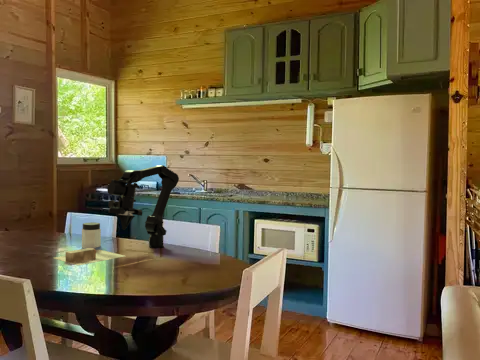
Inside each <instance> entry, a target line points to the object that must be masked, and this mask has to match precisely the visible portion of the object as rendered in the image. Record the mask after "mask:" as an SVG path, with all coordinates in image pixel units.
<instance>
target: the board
mask: <svg viewBox="0 0 480 360" xmlns="http://www.w3.org/2000/svg"><path fill="white" fill-rule="evenodd" d="M124 257H125V255H124V254H119V253H115V252H112V251H111V252H110V251H107V250H103V249H97V250H96V258H93V259H88V260H82V261H77V262H72V263H70V262H67V261H66V255H61V256H56V257H53V259H54V260H58V261H62V262H65V263H69V264H72V265H75V266H83V265H89V264H92V263H98V262H103V261H108V260H114V259H118V258H124Z"/></svg>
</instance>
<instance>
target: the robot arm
mask: <svg viewBox="0 0 480 360" xmlns="http://www.w3.org/2000/svg"><path fill="white" fill-rule="evenodd" d="M156 175H158V177H159V178H160V180H161V190H160V193H159V196H158V199H157V200H156V203H155V204H156V205H155V207H154V210H153V211H152V212H153V213H152V214H151V215H147V216H146V220H145V222H144V224H145V225H144V228H145V231H146V233H147V235H149V237H148V246H149V247H150V248H151V249H155V248H156V249H157V248H165V246H164V236H166V234H167V230H166V229H165V227H163V225H164V218H163V217H164V213H165V210H166V207H167V205H168V202H169V198H170V196H171V193H172V190H173V191H174V188H176V187H177V185H178V183H179V180H180V176H179V175H178V173H176V172H174V171H172V170H171V169H169V168H167V167H166V166H165V165H162V164H159V165H158V164H157V165H154V166H151V167H147V168H142V169H138V170H137V169H136V170H135V169H134V170H133V169H132V170H131V169H130V170H128V169H127V170H125V171H124V172H123V173H122V176H120V178H119V179H117V180H116V179H111V181H110V183H109V184H108V186H107V193H108V194H109V195H112V196H113V195H114V196H121V197H119V198H118V201H115V200H113V199H111V200H108V208H109V209H108V213H109V214H115V215H116V216H117V217H118V218H119V219H120V224H121V229H122V230H123V231H125V230H127V228H128V226H129V225H130V223H131V222H132V220H133V219H134V218H135V217H136V216H143V210H142V209H137V208H134V203H136V202H137V199H135V197H136V190H137V189H140V186H139V185H138V183H139V182H140V181H142V180H143V179H145V178H149V177H152V176H156Z"/></svg>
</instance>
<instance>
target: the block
mask: <svg viewBox="0 0 480 360" xmlns="http://www.w3.org/2000/svg"><path fill="white" fill-rule="evenodd" d="M96 249H97V248H81V249H75V250H69V251H65V256H66V261H67V262H66V263H68V262H70V263H69V264H71V263H72V262H77V261H82V260H88V259H93V258H96Z"/></svg>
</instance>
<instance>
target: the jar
mask: <svg viewBox="0 0 480 360" xmlns="http://www.w3.org/2000/svg"><path fill="white" fill-rule="evenodd" d="M101 230H102V229H101V223H100V222H94V221H93V222H84V223H82V228H81V249H86V248H94V249H97V248H100V247H101V244H102V243H101V242H102V241H101V239H102V238H101V237H102V236H101V235H102V234H101V233H102V231H101Z"/></svg>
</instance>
